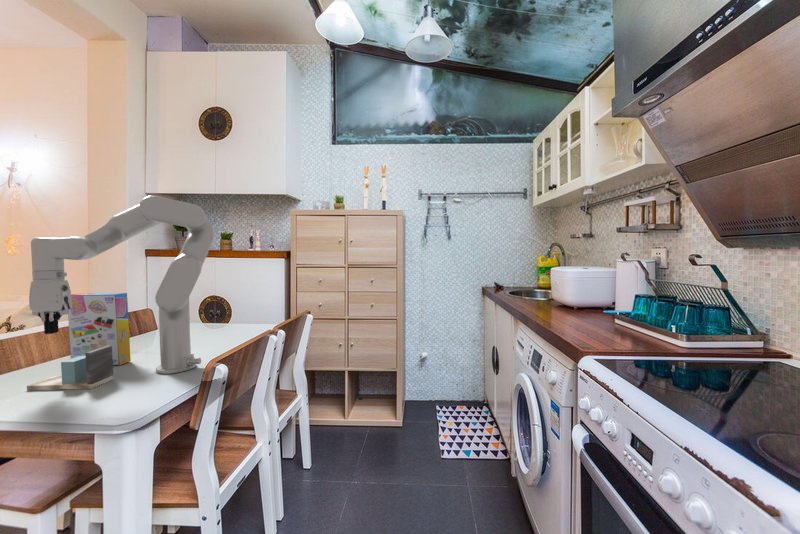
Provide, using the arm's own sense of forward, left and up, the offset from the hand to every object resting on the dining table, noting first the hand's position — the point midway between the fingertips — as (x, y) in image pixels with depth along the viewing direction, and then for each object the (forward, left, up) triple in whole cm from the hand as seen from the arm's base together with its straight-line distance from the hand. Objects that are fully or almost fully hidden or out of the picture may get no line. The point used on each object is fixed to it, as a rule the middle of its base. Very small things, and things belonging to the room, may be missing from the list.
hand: (51, 332), depth 121 cm
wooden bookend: (-6, 0, -17) cm, 18 cm away
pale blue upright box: (-8, 0, -15) cm, 17 cm away
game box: (+3, -24, -17) cm, 30 cm away
